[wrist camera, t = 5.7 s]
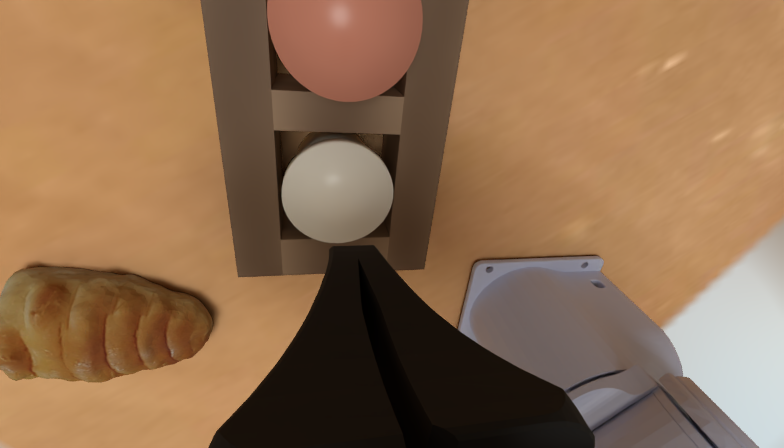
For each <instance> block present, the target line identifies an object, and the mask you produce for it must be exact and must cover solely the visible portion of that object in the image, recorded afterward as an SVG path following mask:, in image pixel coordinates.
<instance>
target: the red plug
mask: <svg viewBox="0 0 784 448" xmlns="http://www.w3.org/2000/svg"><path fill="white" fill-rule="evenodd" d="M267 18H268V27H269V31H270V35H271V39H272V42H273V45H274V47H275V50H276V52H277V54H278V56H279V58H280V60H281V61H282V63H283V64H284V66H285V67H286V69H287V70H288V71H289V72H290V74H291V75H292V76H293V77H294V78H295V79H296V80H297V81H298V82H299V83H300V84H302V85H303V86H304V87H306V88H307V89H308V90H310V91H312V92H314V93H315V94H317V95H319V96H322V97H324V98H327V99H331V100H335V101H341V102H357V101H363V100H367V99H370V98H373V97H376V96H378V95H380V94H382V93H384V92H385V91H387V90H388V89H390V88H391V87H392V86H393V85H395V84H396V83H397V82H398V81H399V80H400V79H401V78H402V77H403V75H404V74H405V73H406V71H407V70H408V69H409V67H410V65H411V63H412V62H413V60H414V57H415V55H416V53H417V50H418V47H419V43H420V40H421V34H422V25H423V12H422V3H421V0H267Z"/></svg>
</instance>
